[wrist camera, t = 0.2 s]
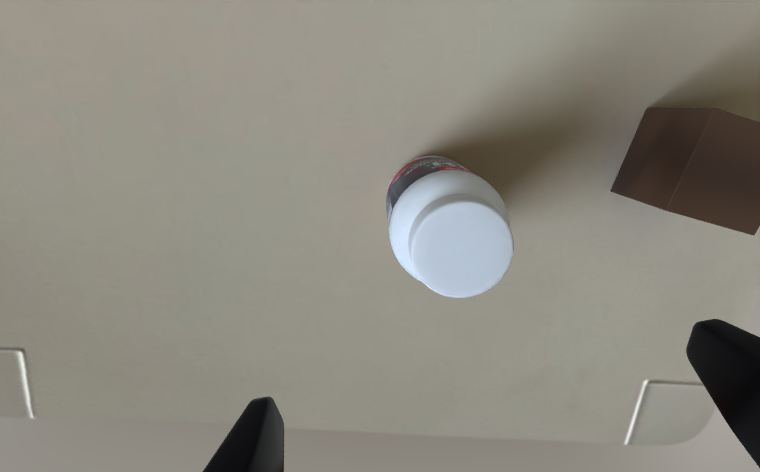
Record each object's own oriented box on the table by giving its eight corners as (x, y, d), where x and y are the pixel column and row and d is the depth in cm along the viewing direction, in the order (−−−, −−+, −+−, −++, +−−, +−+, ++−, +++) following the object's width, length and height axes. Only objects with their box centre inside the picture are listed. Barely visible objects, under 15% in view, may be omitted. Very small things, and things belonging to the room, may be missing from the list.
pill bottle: (462, 142, 24) (519, 163, 15) (482, 227, 26) (546, 294, 17) (373, 169, 25) (374, 207, 15) (398, 252, 26) (414, 331, 17)
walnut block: (683, 212, 26) (754, 235, 21) (609, 191, 25) (665, 210, 21) (723, 131, 25) (808, 137, 20) (646, 107, 24) (715, 108, 19)
